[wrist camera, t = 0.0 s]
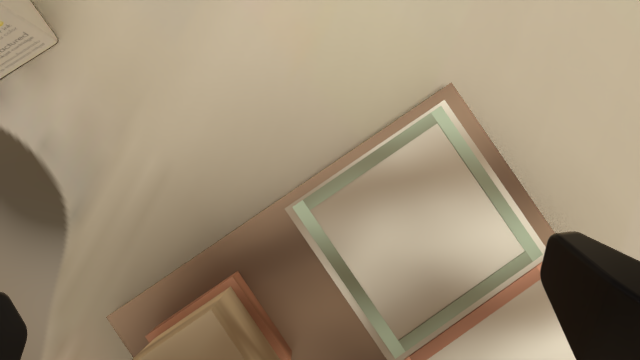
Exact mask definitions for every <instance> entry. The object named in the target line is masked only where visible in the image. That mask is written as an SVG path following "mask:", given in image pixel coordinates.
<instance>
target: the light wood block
mask: <svg viewBox="0 0 640 360" xmlns="http://www.w3.org/2000/svg"><path fill="white" fill-rule="evenodd" d="M145 337H146V339H147V340H148V342H149V344H148V345H147V346H146V347H145V348H144V349H143V350H142V351H141V352H140V353H138V354H137V355H136V356H135V357H134V358H133V359H132V360H291V356H292V350H291V349H290V347H289V346H288V344H287V343H286V341H285V340H284V338H283V337H282V335H281V334H280V332H279V331H278V330H277V328H276V327H275V325H274V324H273V322H272V321H271V319H270V318H269V316H268V315H267V313H266V312H265V310H264V309H263V307H262V306H261V304H260V303H259V301H258V300H257V298H256V297H255V296H254V294H253V293H252V291H251V290H250V288H249V287H248V285H247V284H246V282H245V281H244V279H243V278H242V276H241V275H240V273H239V272H238V271H237V272H235V273H234V274H232V275H231V276H229V277H228V278H227V279H225V280H224V281H222V282H221V283H219V284H218V285H216V286H215V287H213V288H212V289H210V290H209V291H208V292H206V293H205V294H203V295H202V296H200V297H199V298H197V299H196V300H194V301H193V302H191V303H190V304H189V305H187V306H186V307H184V308H183V309H181V310H180V311H178V312H177V313H175V314H174V315H172V316H171V317H170V318H168V319H167V320H165V321H164V322H162V323H161V324H159V325H158V326H156V327H155V328H154V329H153V330H152V331H151V332H150V333H148V334H147V335H146V336H145Z"/></svg>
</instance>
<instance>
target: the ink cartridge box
mask: <svg viewBox="0 0 640 360" xmlns="http://www.w3.org/2000/svg"><path fill="white" fill-rule="evenodd" d="M57 41H58V39H57V38H56V36H55V34H54V33H53V32H52V30H51V29H50V27H49V26H48V25H47V23H46V22H45V21H44V19H43V18H42V16H41V15H40V14H39V12H38V11H37V9H36V8H35V7H34V5H33V4H32V3H31V1H30V0H0V79H1V78H2V77H4V76H5V75H7V74H9V73H10V72H12V71H13V70H15V69H16V68H18V67H20V66H21V65H23V64H24V63H26V62H28V61H29V60H31V59H32V58H34V57H36V56H37V55H39V54H40V53H42V52H44V51H45V50H47V49H48V48H50V47H51V46H53V45H54V44H56V43H57Z"/></svg>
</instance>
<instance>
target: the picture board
mask: <svg viewBox="0 0 640 360" xmlns="http://www.w3.org/2000/svg"><path fill="white" fill-rule="evenodd" d="M553 234H555V233H554V231H553V230H552V228H551V227H550V225H549V224H548V223H547V221H546V220H545V218H544V217H543V215H542V214H541V212H540V211H539V209H538V208H537V207H536V205H535V204H534V202H533V201H532V199H531V198H530V196H529V195H528V193H527V192H526V191H525V189H524V188H523V186H522V185H521V183H520V182H519V180H518V179H517V177H516V176H515V174H514V173H513V172H512V170H511V169H510V167H509V166H508V164H507V163H506V161H505V160H504V158H503V157H502V156H501V154H500V153H499V151H498V150H497V148H496V147H495V145H494V144H493V142H492V141H491V140H490V138H489V137H488V135H487V134H486V132H485V131H484V129H483V128H482V126H481V125H480V124H479V122H478V121H477V119H476V118H475V116H474V115H473V113H472V112H471V110H470V109H469V107H468V106H467V105H466V103H465V102H464V100H463V99H462V97H461V96H460V94H459V93H458V91H457V90H456V89H455V87H454V86H453V84H452V83H450V84H449V85H447V86H446V87H444V88H443V89H441V90H440V91H438V92H437V93H435V94H434V95H432V96H431V97H429V98H428V99H427V100H425V101H424V102H422V103H421V104H419V105H418V106H416V107H415V108H413V109H412V110H410V111H409V112H407V113H406V114H404V115H403V116H402V117H400V118H399V119H397V120H396V121H394V122H393V123H391V124H390V125H388V126H387V127H385V128H384V129H382V130H381V131H379V132H378V133H376V134H375V135H374V136H372V137H371V138H369V139H368V140H366V141H365V142H363V143H362V144H360V145H359V146H357V147H356V148H354V149H353V150H351V151H350V152H349V153H347V154H346V155H344V156H343V157H341V158H340V159H338V160H337V161H335V162H334V163H332V164H331V165H329V166H328V167H326V168H325V169H323V170H322V171H321V172H319V173H318V174H316V175H315V176H313V177H312V178H310V179H309V180H307V181H306V182H304V183H303V184H301V185H300V186H298V187H297V188H296V189H294V190H293V191H291V192H290V193H288V194H287V195H285V196H284V197H282V198H281V199H279V200H278V201H276V202H275V203H273V204H272V205H271V206H269V207H268V208H266V209H265V210H263V211H262V212H260V213H259V214H257V215H256V216H254V217H253V218H251V219H250V220H248V221H247V222H245V223H244V224H243V225H241V226H240V227H238V228H237V229H235V230H234V231H232V232H231V233H229V234H228V235H226V236H225V237H223V238H222V239H220V240H219V241H218V242H216V243H215V244H213V245H212V246H210V247H209V248H207V249H206V250H204V251H203V252H201V253H200V254H198V255H197V256H195V257H194V258H193V259H191V260H190V261H188V262H187V263H185V264H184V265H182V266H181V267H179V268H178V269H176V270H175V271H173V272H172V273H170V274H169V275H167V276H166V277H165V278H163V279H162V280H160V281H159V282H157V283H156V284H154V285H153V286H151V287H150V288H148V289H147V290H145V291H144V292H142V293H141V294H140V295H138V296H137V297H135V298H134V299H132V300H131V301H129V302H128V303H126V304H125V305H123V306H122V307H120V308H119V309H117V310H116V311H115V312H113V313H112V314H110V315H109V316H107V317H106V318H107V319H108V321H109V322H110V324H111V325H112V327H113V328H114V330H115V331H116V333H117V334H118V336H119V337H120V339H121V340H122V341H123V343H124V344H125V346H126V347H127V349H128V350H129V352H130V353H131V355H132V356H133V358H134V357H135V356H136V355H137V354H138V353H140V352H141V351H142V350H143V349H144V348H145V347H146V346H147V345H148V344H149V342H148V340H147V339H146V337H145V336H146V335H147V334H148V333H150V332H151V331H152V330H153V329H154V328H155V327H156V326H158V325H159V324H161V323H162V322H164V321H165V320H167V319H168V318H170V317H171V316H172V315H174V314H175V313H177V312H178V311H180V310H181V309H183V308H184V307H186V306H187V305H189V304H190V303H191V302H193V301H194V300H196V299H197V298H199V297H200V296H202V295H203V294H205V293H206V292H208V291H209V290H210V289H212V288H213V287H215V286H216V285H218V284H219V283H221V282H222V281H224V280H225V279H227V278H228V277H229V276H231V275H232V274H234V273H235V272H237V271H238V272H239V273H240V275H241V276H242V278H243V279H244V281H245V282H246V284H247V285H248V287H249V288H250V290H251V291H252V293H253V294H254V296H255V297H256V298H257V300H258V301H259V303H260V304H261V306H262V307H263V309H264V310H265V312H266V313H267V315H268V316H269V318H270V319H271V321H272V322H273V324H274V325H275V327H276V328H277V330H278V331H279V332H280V334H281V335H282V337H283V338H284V340H285V341H286V343H287V344H288V346H289V347H290V349H291V350H292V356H291V360H576V359H575V356H574V354H573V352H572V350H571V348H570V346H569V343H568V341H567V339H566V337H565V334H564V332H563V330H562V328H561V326H560V323H559V321H558V319H557V317H556V314H555V312H554V310H553V308H552V305H551V303H550V301H549V299H548V297H547V294H546V292H545V290H544V288H543V285H542V282H541V278H540V269H541V265H542V261H543V257H544V253H545V249H546V244H547V241H548V238H549V237H550V236H551V235H553Z"/></svg>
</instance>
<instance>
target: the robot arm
mask: <svg viewBox="0 0 640 360" xmlns="http://www.w3.org/2000/svg"><path fill="white" fill-rule="evenodd" d="M540 278H541V282H542V285H543V288H544V290H545V292H546V294H547V297H548V299H549V301H550V303H551V305H552V308H553V310H554V312H555V314H556V317H557V319H558V321H559V323H560V326H561V328H562V330H563V332H564V334H565V337H566V339H567V341H568V343H569V346H570V348H571V350H572V352H573V354H574V356H575V359H576V360H640V261H638V260H636V259H634V258H632V257H630V256H627V255H625V254H623V253H621V252H619V251H617V250H615V249H613V248H611V247H609V246H606V245H604V244H602V243H600V242H598V241H596V240H594V239H592V238H590V237H587V236H585V235H583V234H581V233H579V232H564V233H555V234H553V235H551V236H550V237H549V238H548V241H547V244H546V249H545V253H544V257H543V261H542V265H541V269H540ZM26 340H27V329H26V325H25V323H24V321H23V320H22V318H21V316H20V315H19V313H18V311H17V310H16V308H15V306H14V305H13V303H12V301H11V300H10V298H9V297H8V296H7V295H6V294H5V293H2V292H0V360H20V359H21V356H22V353H23V350H24V347H25V343H26Z"/></svg>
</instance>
